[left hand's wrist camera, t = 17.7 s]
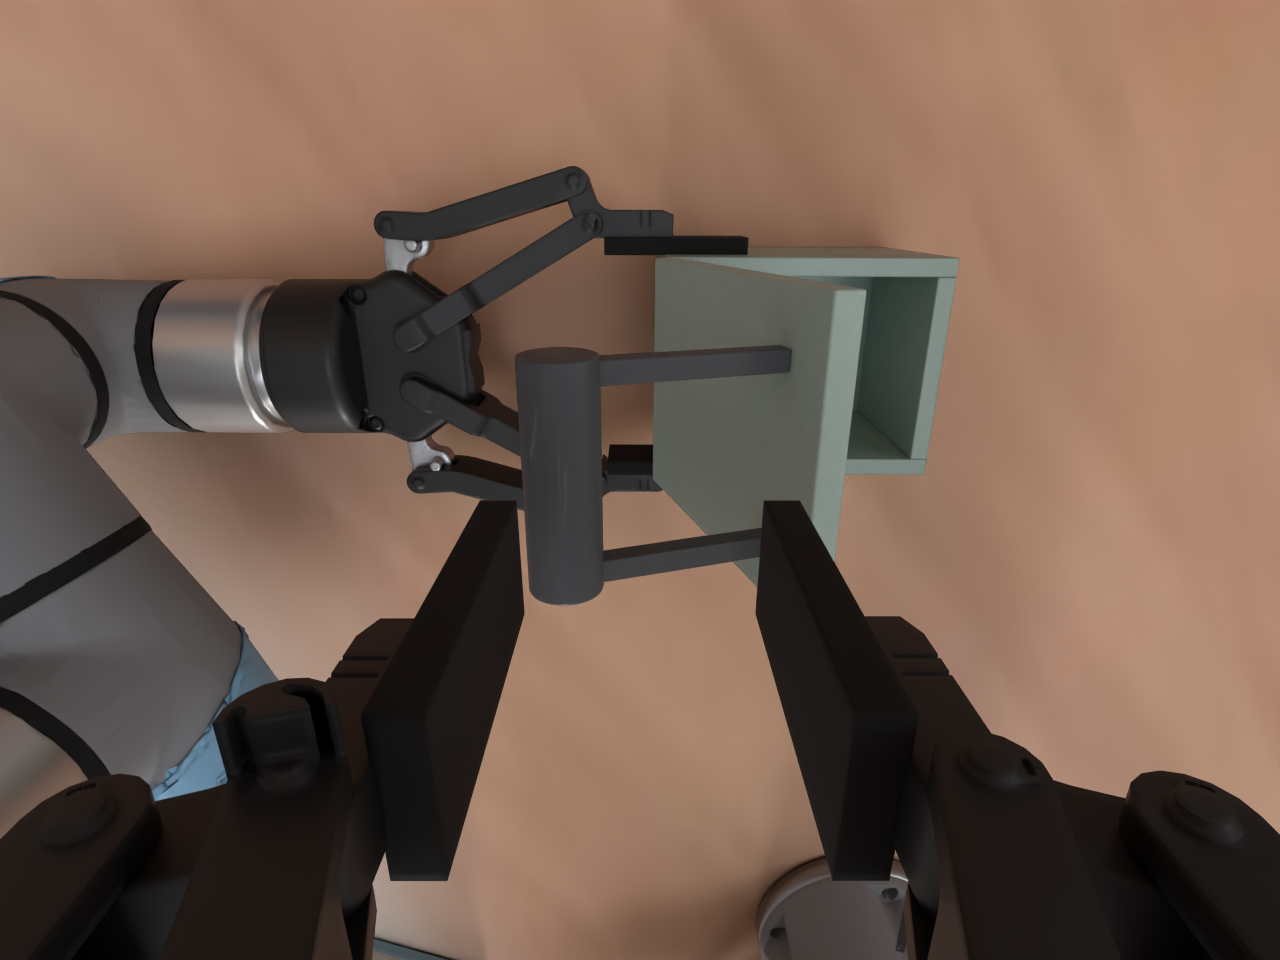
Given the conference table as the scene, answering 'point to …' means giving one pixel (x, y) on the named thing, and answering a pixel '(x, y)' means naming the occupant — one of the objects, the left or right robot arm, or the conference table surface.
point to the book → (398, 953)
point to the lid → (695, 424)
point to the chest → (880, 341)
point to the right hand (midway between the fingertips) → (737, 358)
